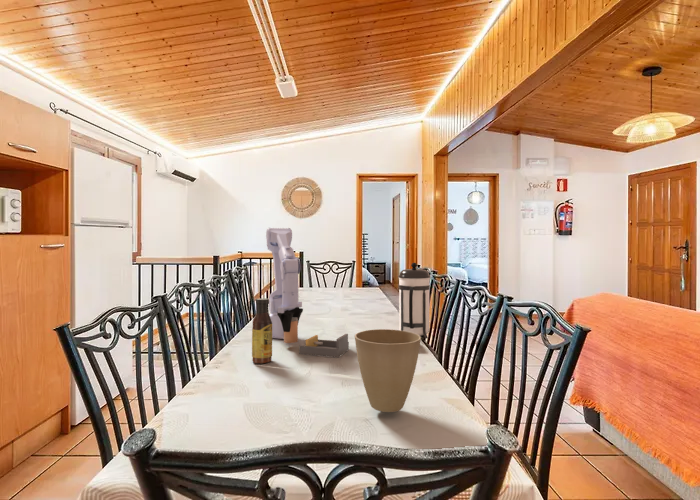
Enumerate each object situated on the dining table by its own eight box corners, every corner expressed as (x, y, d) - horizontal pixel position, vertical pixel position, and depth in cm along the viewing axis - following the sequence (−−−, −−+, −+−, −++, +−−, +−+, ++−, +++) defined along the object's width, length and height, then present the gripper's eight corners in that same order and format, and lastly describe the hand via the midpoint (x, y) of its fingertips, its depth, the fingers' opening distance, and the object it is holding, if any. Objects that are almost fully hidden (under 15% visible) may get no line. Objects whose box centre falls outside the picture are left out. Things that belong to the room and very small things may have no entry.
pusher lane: (299, 354, 132) (299, 336, 132) (312, 346, 142) (312, 330, 142) (337, 357, 127) (337, 340, 127) (348, 349, 137) (348, 333, 137)
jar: (281, 342, 137) (280, 318, 137) (287, 339, 142) (287, 316, 142) (293, 343, 136) (293, 319, 136) (300, 340, 140) (300, 316, 140)
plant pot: (382, 426, 78) (381, 347, 78) (342, 402, 90) (342, 333, 90) (435, 409, 86) (435, 337, 86) (392, 389, 98) (391, 326, 98)
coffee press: (386, 334, 161) (386, 262, 161) (418, 331, 167) (418, 261, 167) (410, 344, 145) (410, 263, 145) (444, 339, 152) (444, 263, 152)
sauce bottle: (267, 365, 119) (267, 300, 119) (248, 364, 121) (248, 300, 121) (275, 359, 126) (275, 297, 126) (257, 358, 127) (257, 297, 127)
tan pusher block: (305, 350, 132) (305, 340, 132) (315, 344, 140) (315, 334, 140) (317, 351, 131) (317, 341, 131) (326, 345, 139) (326, 335, 139)
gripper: (290, 294, 131) (290, 335, 131) (309, 290, 144) (309, 326, 144) (272, 294, 133) (272, 333, 133) (292, 289, 147) (292, 325, 147)
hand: (290, 330), depth 139 cm, fingers closed on jar, 5 cm apart
